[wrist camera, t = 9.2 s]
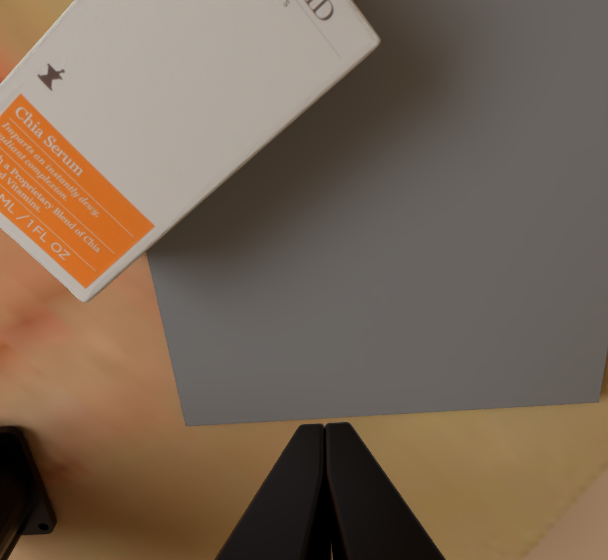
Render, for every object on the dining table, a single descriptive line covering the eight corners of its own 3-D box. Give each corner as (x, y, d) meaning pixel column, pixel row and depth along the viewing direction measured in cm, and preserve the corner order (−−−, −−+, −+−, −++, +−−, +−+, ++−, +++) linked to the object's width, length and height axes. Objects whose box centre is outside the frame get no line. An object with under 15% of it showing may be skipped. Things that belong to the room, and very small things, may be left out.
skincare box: (-81, 169, 16) (219, -183, 12) (-3, 140, 20) (242, -134, 16) (86, 313, 18) (388, 41, 14) (127, 261, 21) (372, 38, 18)
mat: (592, 393, 24) (599, 402, 24) (188, 417, 25) (185, 426, 25) (670, -93, 17) (682, -97, 16) (89, -32, 18) (82, -34, 17)
